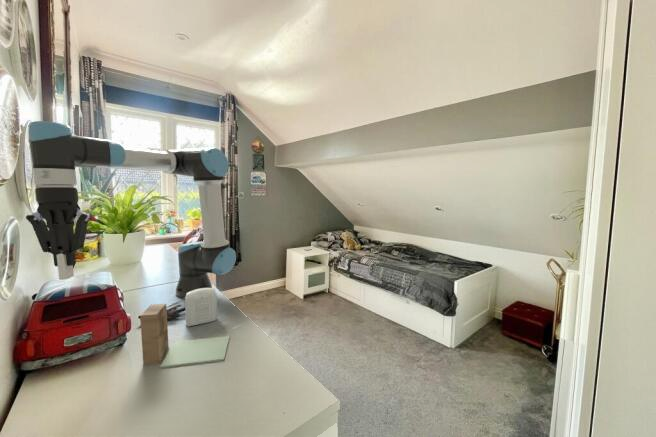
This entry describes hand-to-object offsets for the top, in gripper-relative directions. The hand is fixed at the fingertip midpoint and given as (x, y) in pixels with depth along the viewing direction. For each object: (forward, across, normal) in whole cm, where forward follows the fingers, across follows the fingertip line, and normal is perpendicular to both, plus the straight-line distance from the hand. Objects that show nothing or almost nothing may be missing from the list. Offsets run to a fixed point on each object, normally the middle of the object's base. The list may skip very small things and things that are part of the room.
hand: (66, 277), depth 70 cm
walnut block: (+25, +19, 0) cm, 31 cm away
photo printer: (+25, +27, +20) cm, 42 cm away
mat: (+25, +30, +1) cm, 39 cm away
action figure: (+25, +14, +24) cm, 38 cm away
